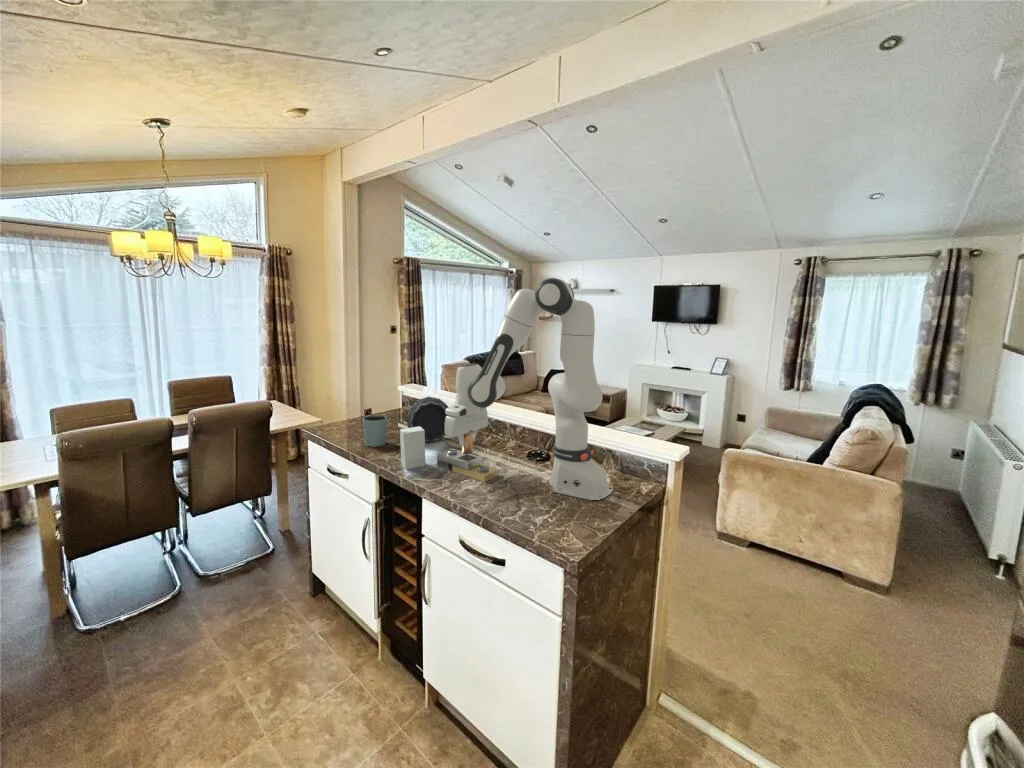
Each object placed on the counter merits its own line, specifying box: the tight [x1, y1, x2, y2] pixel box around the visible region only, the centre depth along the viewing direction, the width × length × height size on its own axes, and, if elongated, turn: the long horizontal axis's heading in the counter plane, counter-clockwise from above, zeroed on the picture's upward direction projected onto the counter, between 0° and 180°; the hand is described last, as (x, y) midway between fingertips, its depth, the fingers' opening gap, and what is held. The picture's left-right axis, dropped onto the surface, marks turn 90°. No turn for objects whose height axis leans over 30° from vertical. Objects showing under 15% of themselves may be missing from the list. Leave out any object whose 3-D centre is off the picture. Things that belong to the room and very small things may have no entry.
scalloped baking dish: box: [406, 396, 449, 443], centre depth 199 cm, size 11×20×20 cm, turn 107°
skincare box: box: [399, 426, 427, 471], centre depth 168 cm, size 8×6×15 cm
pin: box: [461, 430, 474, 454], centre depth 164 cm, size 4×4×9 cm
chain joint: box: [436, 448, 500, 483], centre depth 165 cm, size 24×8×6 cm, turn 53°
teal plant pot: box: [362, 414, 388, 448], centre depth 193 cm, size 10×10×12 cm
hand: (467, 443), depth 164 cm, fingers closed on pin, 4 cm apart
